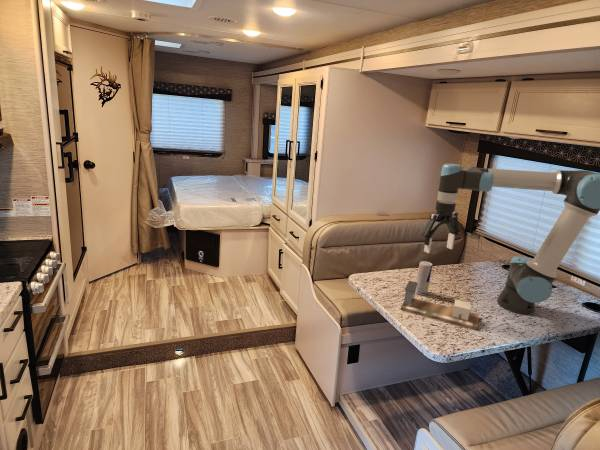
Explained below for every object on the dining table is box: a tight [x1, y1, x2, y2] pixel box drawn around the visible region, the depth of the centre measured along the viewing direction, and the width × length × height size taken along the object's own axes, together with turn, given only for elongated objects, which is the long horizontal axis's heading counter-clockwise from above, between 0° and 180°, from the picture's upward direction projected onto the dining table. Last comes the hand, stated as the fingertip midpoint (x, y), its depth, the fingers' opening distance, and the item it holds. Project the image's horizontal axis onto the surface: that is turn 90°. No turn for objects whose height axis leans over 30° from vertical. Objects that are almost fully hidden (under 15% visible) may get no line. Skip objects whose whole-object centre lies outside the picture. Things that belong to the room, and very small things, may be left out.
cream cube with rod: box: [452, 299, 472, 321], centre depth 160 cm, size 6×10×5 cm, turn 155°
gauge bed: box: [400, 297, 480, 331], centre depth 165 cm, size 30×12×2 cm, turn 65°
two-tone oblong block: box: [402, 280, 418, 307], centre depth 169 cm, size 4×10×8 cm, turn 155°
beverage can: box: [415, 260, 433, 296], centre depth 181 cm, size 6×6×15 cm
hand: (438, 250), depth 168 cm, fingers open, 13 cm apart
